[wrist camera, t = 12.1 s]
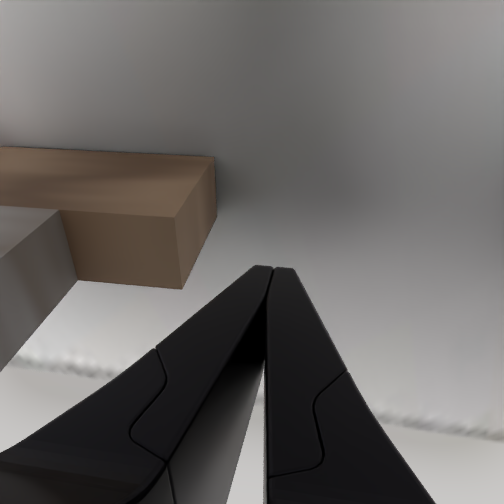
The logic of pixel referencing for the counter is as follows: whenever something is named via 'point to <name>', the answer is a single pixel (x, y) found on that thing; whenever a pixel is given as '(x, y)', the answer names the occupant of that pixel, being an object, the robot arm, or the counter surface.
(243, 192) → the counter surface
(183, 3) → the counter surface
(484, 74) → the counter surface
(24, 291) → the door
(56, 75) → the counter surface
